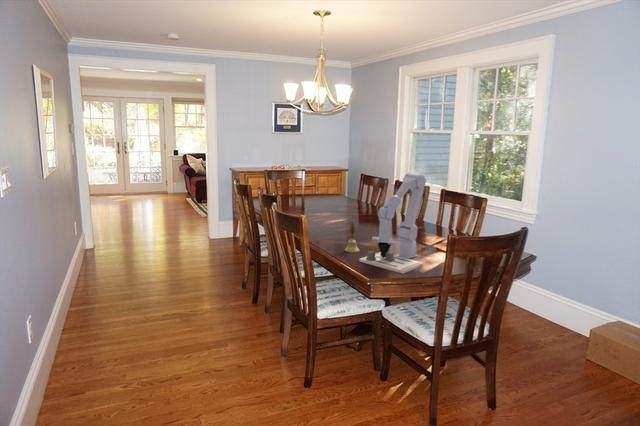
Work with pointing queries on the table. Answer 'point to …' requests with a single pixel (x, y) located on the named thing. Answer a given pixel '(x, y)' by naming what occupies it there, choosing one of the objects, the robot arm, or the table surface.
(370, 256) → the knob
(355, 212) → the table surface
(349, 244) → the hand bell
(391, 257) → the knob
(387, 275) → the table surface
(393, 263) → the switch board
